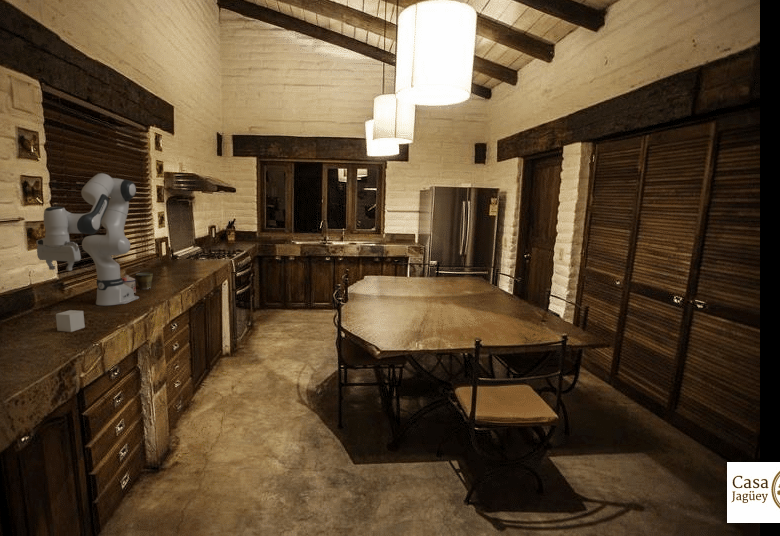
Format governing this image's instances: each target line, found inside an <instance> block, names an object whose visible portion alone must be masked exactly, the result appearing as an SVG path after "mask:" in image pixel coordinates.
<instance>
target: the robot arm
mask: <svg viewBox="0 0 780 536" xmlns="http://www.w3.org/2000/svg"><path fill="white" fill-rule="evenodd" d="M80 194H81V198H83V200H84V201H85V202H86V203H87V204H89V205H90V206H91V205H92V208H91V210H90V211H89V212H86V213H72V212H69V211H67V210H66V208H65V207H64V206H59V205H58V206H49V207H46V208H45V209H44V210H43V227H44V228H45V233H44V237H43V238H40V239H37V240H36V241H35V243H36V245H37V247H36V255H37V258H38V260H39V261H45V263H46V264H47V266H48V270H52V271H54V270H56V265H54V263H53V261H56V262H66V263H67V266H66V267H65V271H68V272H69V271H73V267H74V265H75V262H79V261H81V260H82V256H81V251H80V247H79V245H78V243H77V242H75V241H71V240H70V234H85V235H88V236H84V238H83V239H82V241H81V246H82V247H81V248H82V249H83V251H84V252H86V253H87V254H88V256H90V258H91V259H92V260H93V263H94V265H95V270H96V286H97V289H96V300H95V305H97V306H115V305H125V304H128V303H130V302H133V301H136V300H138V299H140V296H138V295H135V294H134V291H133V289H132V288H130V287H128V286H127V285H125V284H123V283H124V282H123V281H127V278H124V277H121V265H120V263H118V262H117V261H115V260H114V259H113V257H112V256H121V255H126V254H127V253H129V252H130V250H131V246H132V245H131V242H130V240H129V239H128V238H127V237H126V235H125V226H126V225H125V224H126V222H127V218H128V213H129V209H130V208H129V207H130V201H131V200H132V199H133V198H134V197H135V195H136V194H137V187H136V184H135V183H134V181H131V180H128V179H123V178H122V179H121V178H117V177H116V178H115V177H112V176H110V175H109V174H106V173H104V172H103V173H97V174H95V175H94V176H93V177H91V178H90V179H89V180H88V181H87V182H86V183H85V184H84V186H83V187H82V188H81V191H80ZM101 226H102V227H103V228H104V229H106V233H105V234H96V233H98V231H99V230H100V228H101Z"/></svg>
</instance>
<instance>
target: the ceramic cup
mask: <svg viewBox="0 0 780 536" xmlns="http://www.w3.org/2000/svg"><path fill="white" fill-rule="evenodd" d="M153 275H154V274H153V272H139V273H136V274H135V280H136V282H137V285H138V289H139V290H150V289H151V288H152V281H153V277H154V276H153ZM149 288H150V289H149Z"/></svg>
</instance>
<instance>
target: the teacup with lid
mask: <svg viewBox="0 0 780 536" xmlns="http://www.w3.org/2000/svg"><path fill="white" fill-rule="evenodd" d="M123 278H127V281H123V282H124V283H123V284H125V285H127V286H128V287H130V288H132V289H133V291H134V293H135V294H136V293H137V289H136V278H134V277H131V276H130V275H127V274H126V275H124V277H123Z"/></svg>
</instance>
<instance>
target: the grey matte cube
mask: <svg viewBox="0 0 780 536" xmlns="http://www.w3.org/2000/svg"><path fill="white" fill-rule="evenodd" d="M84 315H85V314H84V310H75V309H74V310H72V309H69V310H66V311H62V312H58V313H55V320H56V330H57V332H68V333H69V332H70V333H72V332H75V331H78V330H81V329H84V328H85V327H86V325H85V316H84Z"/></svg>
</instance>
